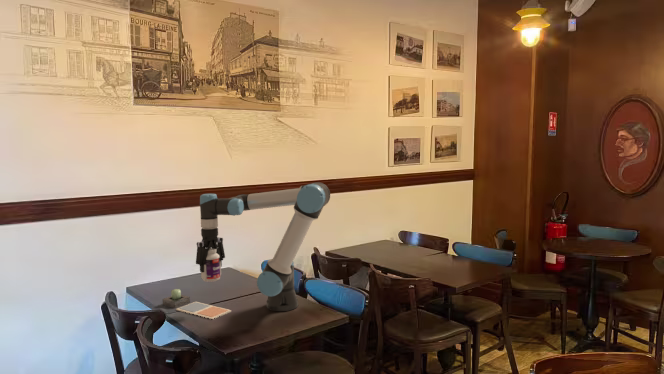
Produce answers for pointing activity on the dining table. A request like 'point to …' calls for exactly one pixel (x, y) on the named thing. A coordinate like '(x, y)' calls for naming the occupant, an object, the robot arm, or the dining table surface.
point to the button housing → (176, 301)
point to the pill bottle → (212, 266)
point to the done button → (176, 294)
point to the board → (203, 310)
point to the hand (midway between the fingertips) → (211, 276)
